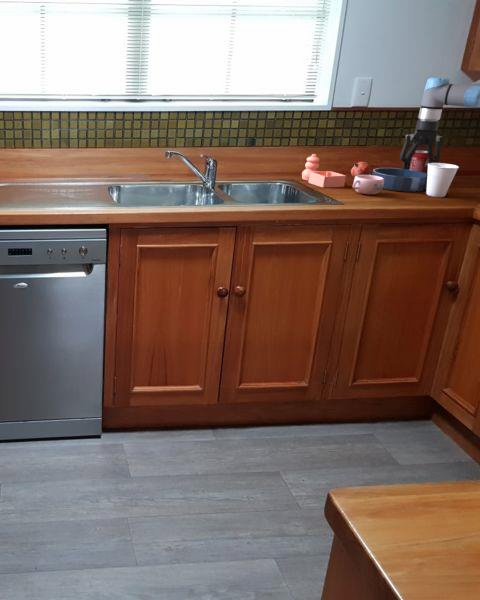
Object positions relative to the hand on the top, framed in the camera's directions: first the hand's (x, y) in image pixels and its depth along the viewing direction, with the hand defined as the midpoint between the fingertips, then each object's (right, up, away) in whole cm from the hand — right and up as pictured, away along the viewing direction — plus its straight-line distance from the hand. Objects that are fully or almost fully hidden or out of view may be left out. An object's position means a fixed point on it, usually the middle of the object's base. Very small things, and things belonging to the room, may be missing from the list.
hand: (414, 179), depth 244 cm
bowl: (-12, -5, -10) cm, 16 cm away
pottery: (-41, -3, -5) cm, 41 cm away
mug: (-31, -10, -22) cm, 39 cm away
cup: (-5, -11, -22) cm, 25 cm away
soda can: (0, -1, 0) cm, 1 cm away
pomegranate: (-21, +3, 0) cm, 22 cm away
